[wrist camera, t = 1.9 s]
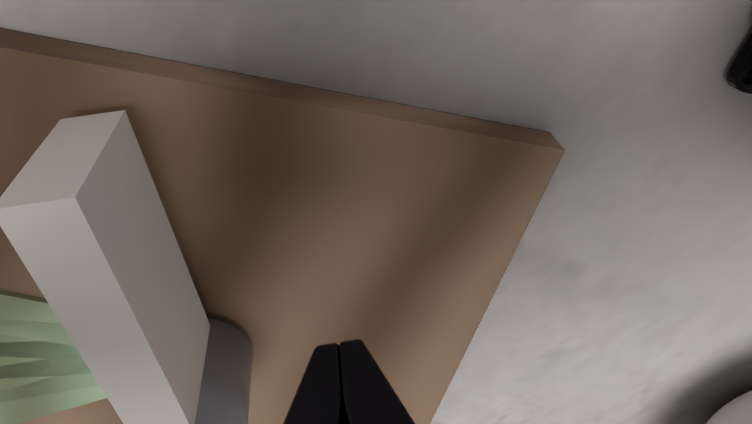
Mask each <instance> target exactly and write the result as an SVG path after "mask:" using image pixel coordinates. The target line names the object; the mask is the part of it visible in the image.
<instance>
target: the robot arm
mask: <svg viewBox="0 0 752 424" xmlns="http://www.w3.org/2000/svg"><path fill="white" fill-rule="evenodd" d="M749 70H750V73H749V74H748V75H747V76H746V77H745V78H744V75H745V74H746V73H747V72H748V71H749ZM727 81H728V83H729V85H731V86H733V87H734V88H736V89H738V90H740V91H741V92H745V93H750V94H752V34H751V35H750V37H749V39H748V40H747V42H746V43H745V45H744V47H743V48H742V50H741V52H740V53H739V55H738V56H737V58H736V60H735V61H734V63H733V64H732V66H731V68H730V70H729V72H728V74H727ZM283 424H415V422H414V421H413V419H412V418H411V416H410V414H409V413H408V411H407V410H406V408H405V407H404V405H403V403H402V402H401V400H400V399H399V397H398V396H397V394H396V392H395V391H394V389H393V388H392V386H391V385H390V383H389V381H388V380H387V378H386V377H385V375H384V374H383V372H382V370H381V369H380V367H379V366H378V364H377V363H376V361H375V359H374V358H373V356H372V355H371V353H370V352H369V350H368V348H367V347H366V345H365V344H364V342H363V341H362V340H361V339H354V340H348V341H342V342H341V343H340V344H339V345H338V344H337V343H329V344H323V345H318V346H317V347H315V349H314V351H313V353H312V356H311V358H310V360H309V363H308V365H307V368H306V370H305V372H304V375H303V377H302V380H301V382H300V384H299V387H298V389H297V391H296V394H295V396H294V399H293V401H292V403H291V406H290V408H289V411H288V413H287V415H286V418H285V420H284V423H283Z"/></svg>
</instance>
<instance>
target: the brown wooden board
mask: <svg viewBox="0 0 752 424" xmlns="http://www.w3.org/2000/svg"><path fill="white" fill-rule="evenodd" d="M121 110H125V111H126V114H127V116H128V119H129V121H130V124H131V126H132V129H133V131H134V134H135V136H136V139H137V141H138V144H139V147H140V149H141V152H142V154H143V157H144V159H145V162H146V164H147V167H148V169H149V172H150V174H151V177H152V179H153V182H154V184H155V187H156V190H157V192H158V195H159V197H160V200H161V202H162V205H163V207H164V210H165V212H166V215H167V217H168V220H169V222H170V225H171V227H172V230H173V233H174V235H175V238H176V240H177V243H178V245H179V248H180V250H181V253H182V255H183V258H184V260H185V263H186V265H187V268H188V270H189V273H190V276H191V278H192V281H193V283H194V286H195V288H196V291H197V293H198V296H199V298H200V301H201V303H202V306H203V308H204V311H205V314H206V316H207V318H208V319H215V320H219V321H222V322H225V323H228V324H230V325H232V326H234V327H235V328H237V329H239V330H240V331H241V332H242V333H243V334H244V335H245V336H246V337H247V338H248V340H249V341H250V343H251V346H252V350H253V358H252V372H251V387H250V401H249V416H248V424H283V423H284V420H285V418H286V415H287V413H288V411H289V408H290V406H291V403H292V401H293V399H294V396H295V394H296V391H297V389H298V387H299V384H300V382H301V380H302V377H303V375H304V372H305V370H306V368H307V365H308V363H309V360H310V358H311V356H312V353H313V351H314V349H315V347H317V346H318V345H323V344H329V343H337V344H338V345H339V344H340V343H341V342H342V341H348V340H354V339H361V340H362V341H363V342H364V344H365V345H366V347H367V348H368V350H369V352H370V353H371V355H372V356H373V358H374V359H375V361H376V363H377V364H378V366H379V367H380V369H381V370H382V372H383V374H384V375H385V377H386V378H387V380H388V381H389V383H390V385H391V386H392V388H393V389H394V391H395V392H396V394H397V396H398V397H399V399H400V400H401V402H402V403H403V405H404V407H405V408H406V410H407V411H408V413H409V414H410V416H411V418H412V419H413V421H414V422H415V424H430V423H431V420H432V418H433V416H434V414H435V412H436V410H437V408H438V406H439V404H440V402H441V400H442V398H443V396H444V394H445V392H446V390H447V388H448V386H449V384H450V382H451V380H452V378H453V376H454V374H455V372H456V370H457V368H458V366H459V364H460V362H461V360H462V358H463V356H464V354H465V352H466V350H467V348H468V346H469V343H470V341H471V339H472V337H473V335H474V333H475V331H476V329H477V327H478V325H479V323H480V321H481V319H482V317H483V315H484V313H485V311H486V309H487V307H488V305H489V303H490V301H491V299H492V297H493V295H494V293H495V291H496V289H497V287H498V285H499V283H500V281H501V279H502V277H503V275H504V273H505V271H506V269H507V266H508V264H509V262H510V260H511V258H512V256H513V254H514V252H515V250H516V248H517V246H518V244H519V242H520V240H521V238H522V236H523V234H524V232H525V230H526V228H527V226H528V224H529V222H530V220H531V218H532V216H533V214H534V212H535V210H536V208H537V206H538V204H539V202H540V200H541V198H542V196H543V194H544V192H545V189H546V187H547V185H548V183H549V181H550V179H551V177H552V175H553V173H554V171H555V169H556V167H557V165H558V163H559V161H560V159H561V157H562V155H563V153H564V151H565V150H564V149H563V148H562V146H561V145H560V144H559V143H558V142H557V140H556V139H555V138H554V137H553V136H552V134H551V133H550V132H544V131H539V130H534V129H528V128H523V127H518V126H513V125H507V124H502V123H497V122H492V121H486V120H481V119H476V118H471V117H465V116H460V115H455V114H449V113H444V112H439V111H434V110H428V109H423V108H418V107H413V106H407V105H402V104H397V103H392V102H386V101H381V100H376V99H370V98H365V97H360V96H355V95H349V94H344V93H339V92H334V91H328V90H323V89H318V88H313V87H307V86H302V85H297V84H291V83H286V82H281V81H276V80H270V79H265V78H260V77H255V76H249V75H244V74H239V73H233V72H228V71H223V70H218V69H212V68H207V67H202V66H197V65H191V64H186V63H181V62H176V61H170V60H165V59H160V58H154V57H149V56H144V55H139V54H133V53H128V52H123V51H118V50H112V49H107V48H102V47H97V46H91V45H86V44H81V43H75V42H70V41H65V40H60V39H54V38H49V37H44V36H39V35H33V34H28V33H23V32H18V31H12V30H7V29H2V28H0V197H1V196H2V194H3V193H4V192H5V190H6V189H7V188H8V186H9V185H10V184H11V183H12V181H13V180H14V179H15V177H16V176H17V175H18V173H19V172H20V171H21V170H22V168H23V167H24V166H25V164H26V163H27V162H28V161H29V159H30V158H31V157H32V155H33V154H34V153H35V151H36V150H37V149H38V148H39V146H40V145H41V144H42V142H43V141H44V140H45V139H46V137H47V136H48V135H49V133H50V132H51V131H52V129H53V128H54V127H55V126H56V124H57V123H58V122H59V120H60V119H65V118H72V117H79V116H86V115H93V114H100V113H107V112H114V111H121ZM0 424H123V422H122V421H121V419H120V417H119V416H118V414H117V413H116V411H115V409H114V408H113V406H112V405H111V403H110V401H109V400H108V398H107V397H106V395H105V393H104V392H103V390H102V389H101V387H100V385H99V384H98V382H97V381H96V379H95V377H94V376H93V374H92V373H91V371H90V369H89V368H88V366H87V364H86V363H85V361H84V360H83V358H82V356H81V355H80V353H79V352H78V350H77V348H76V347H75V345H74V344H73V342H72V340H71V339H70V337H69V336H68V334H67V332H66V331H65V329H64V328H63V326H62V324H61V323H60V321H59V320H58V318H57V316H56V315H55V313H54V312H53V310H52V308H51V307H50V305H49V304H48V302H47V300H46V299H45V297H44V295H43V294H42V292H41V291H40V289H39V287H38V286H37V284H36V283H35V281H34V279H33V278H32V276H31V275H30V273H29V271H28V270H27V268H26V267H25V265H24V263H23V262H22V260H21V259H20V257H19V255H18V254H17V252H16V251H15V249H14V247H13V246H12V244H11V243H10V241H9V239H8V238H7V236H6V234H5V233H4V231H3V230H2V228H1V226H0Z"/></svg>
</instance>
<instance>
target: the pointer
mask: <svg viewBox="0 0 752 424" xmlns="http://www.w3.org/2000/svg"><path fill="white" fill-rule="evenodd" d="M0 226H1V228H2V230H3V231H4V233H5V234H6V236H7V238H8V239H9V241H10V243H11V244H12V246H13V247H14V249H15V251H16V252H17V254H18V255H19V257H20V259H21V260H22V262H23V263H24V265H25V267H26V268H27V270H28V271H29V273H30V275H31V276H32V278H33V279H34V281H35V283H36V284H37V286H38V287H39V289H40V291H41V292H42V294H43V295H44V297H45V299H46V300H47V302H48V304H49V305H50V307H51V308H52V310H53V312H54V313H55V315H56V316H57V318H58V320H59V321H60V323H61V324H62V326H63V328H64V329H65V331H66V332H67V334H68V336H69V337H70V339H71V340H72V342H73V344H74V345H75V347H76V348H77V350H78V352H79V353H80V355H81V356H82V358H83V360H84V361H85V363H86V364H87V366H88V368H89V369H90V371H91V373H92V374H93V376H94V377H95V379H96V381H97V382H98V384H99V385H100V387H101V389H102V390H103V392H104V393H105V395H106V397H107V398H108V400H109V401H110V403H111V405H112V406H113V408H114V409H115V411H116V413H117V414H118V416H119V417H120V419H121V421H122V422H123V424H248V416H249V401H250V387H251V372H252V358H253V350H252V346H251V343H250V341H249V340H248V338H247V337H246V336H245V335H244V334H243V333H242V332H241V331H240V330H239V329H237V328H235V327H234V326H232V325H230V324H228V323H225V322H222V321H219V320H215V319H208V318H207V316H206V314H205V311H204V308H203V306H202V303H201V301H200V298H199V296H198V293H197V291H196V288H195V286H194V283H193V281H192V278H191V276H190V273H189V270H188V268H187V265H186V263H185V260H184V258H183V255H182V253H181V250H180V248H179V245H178V243H177V240H176V238H175V235H174V233H173V230H172V227H171V225H170V222H169V220H168V217H167V215H166V212H165V210H164V207H163V205H162V202H161V200H160V197H159V195H158V192H157V190H156V187H155V184H154V182H153V179H152V177H151V174H150V172H149V169H148V167H147V164H146V162H145V159H144V157H143V154H142V152H141V149H140V147H139V144H138V141H137V139H136V136H135V134H134V131H133V129H132V126H131V124H130V121H129V119H128V116H127V114H126V111H125V110H121V111H114V112H107V113H100V114H93V115H86V116H79V117H72V118H65V119H60V120H59V122H58V123H57V124H56V126H55V127H54V128H53V129H52V131H51V132H50V133H49V135H48V136H47V137H46V139H45V140H44V141H43V142H42V144H41V145H40V146H39V148H38V149H37V150H36V151H35V153H34V154H33V155H32V157H31V158H30V159H29V161H28V162H27V163H26V164H25V166H24V167H23V168H22V170H21V171H20V172H19V173H18V175H17V176H16V177H15V179H14V180H13V181H12V183H11V184H10V185H9V186H8V188H7V189H6V190H5V192H4V193H3V194H2V196H1V197H0Z"/></svg>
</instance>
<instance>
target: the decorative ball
mask: <svg viewBox="0 0 752 424" xmlns="http://www.w3.org/2000/svg"><path fill="white" fill-rule="evenodd" d="M706 424H752V391H749V392H747V393H745V394H742V395H740V396H739V397H737V398H735V399H733V400H732V401H730V402H729V403H727V404H726V405H724V406H723V407H722V408H721V409H719V410H718V411H717V412H716V413H715V414H714V415H713V416H712V417H711V418H710V419H709V420H708V422H707V423H706Z"/></svg>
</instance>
